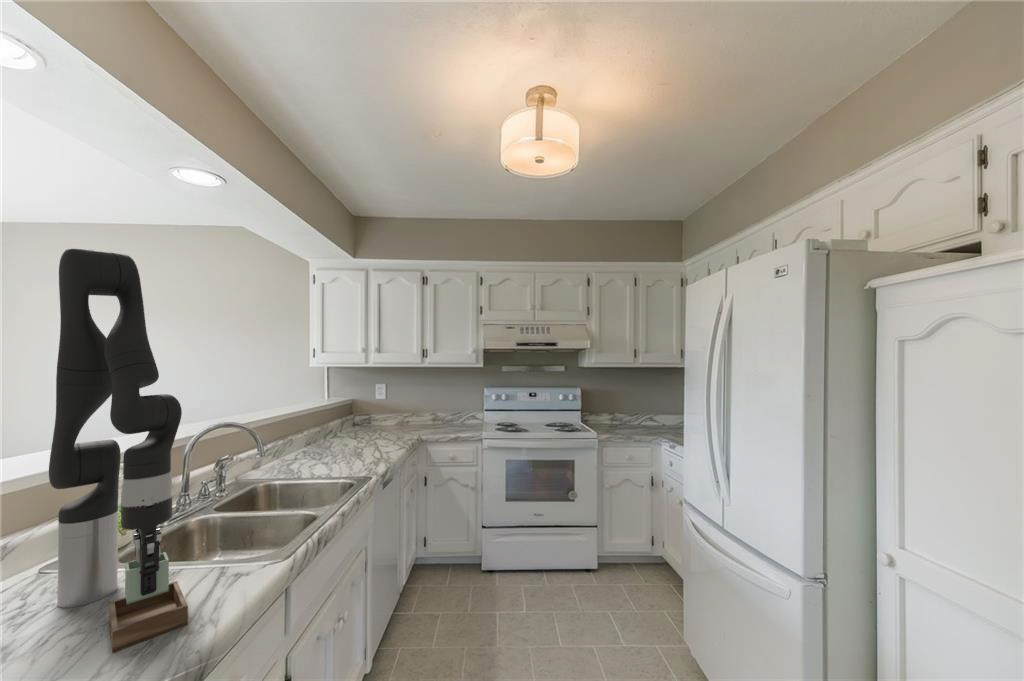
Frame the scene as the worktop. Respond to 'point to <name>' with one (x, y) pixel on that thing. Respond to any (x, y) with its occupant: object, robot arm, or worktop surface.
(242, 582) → the worktop surface
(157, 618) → the big crate
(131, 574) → the small crate
